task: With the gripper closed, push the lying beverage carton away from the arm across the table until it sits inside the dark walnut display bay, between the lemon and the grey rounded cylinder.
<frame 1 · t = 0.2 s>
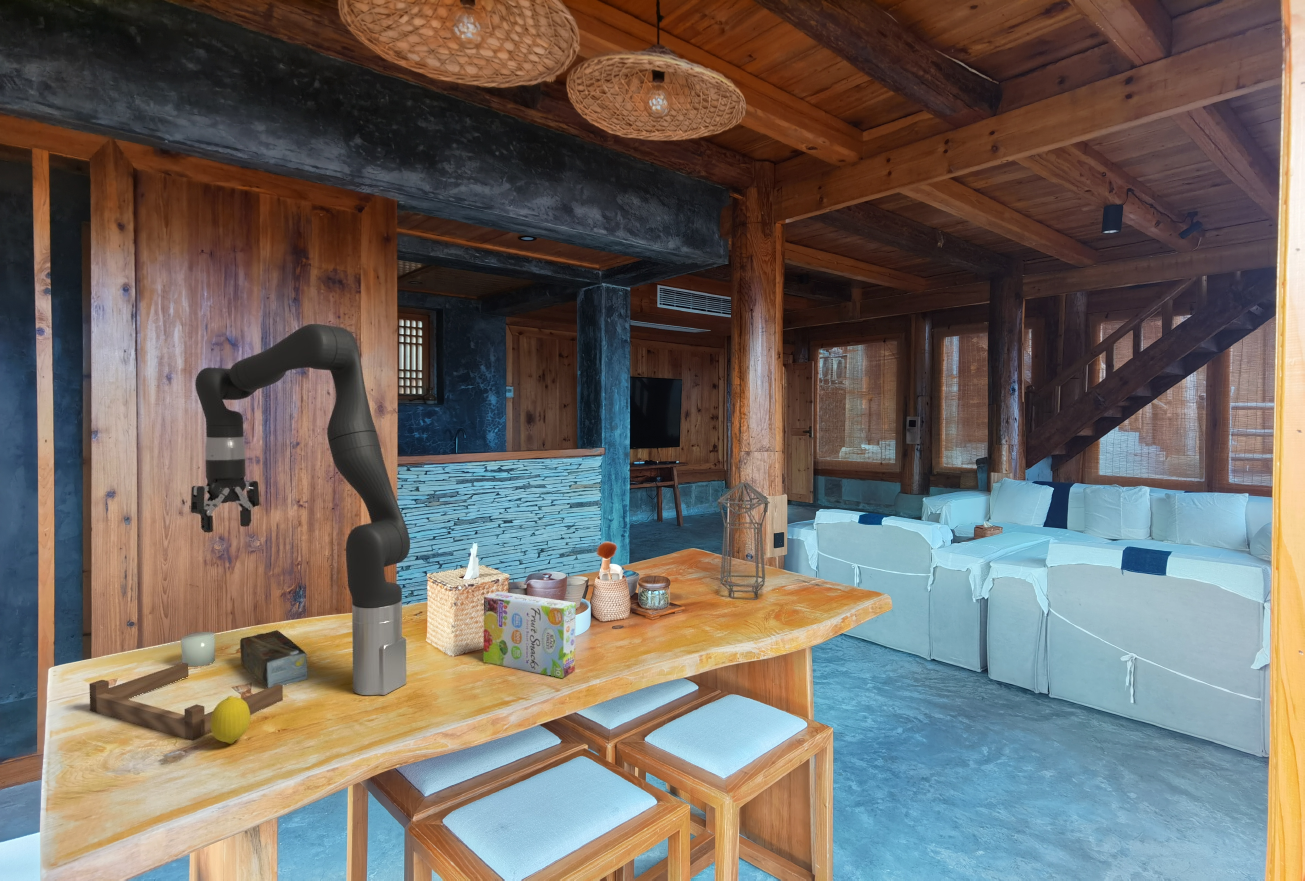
hand: (227, 529, 148), 29 cm above the table, tool pointing down, fingers open, 8 cm apart
geometric lantern: (742, 595, 202), on the table
display bay: (188, 705, 123), on the table
lemon: (231, 744, 109), on the table
beverage carton: (273, 673, 139), on the table
grey rounded cylinder: (198, 663, 143), on the table
snack box: (528, 667, 143), on the table
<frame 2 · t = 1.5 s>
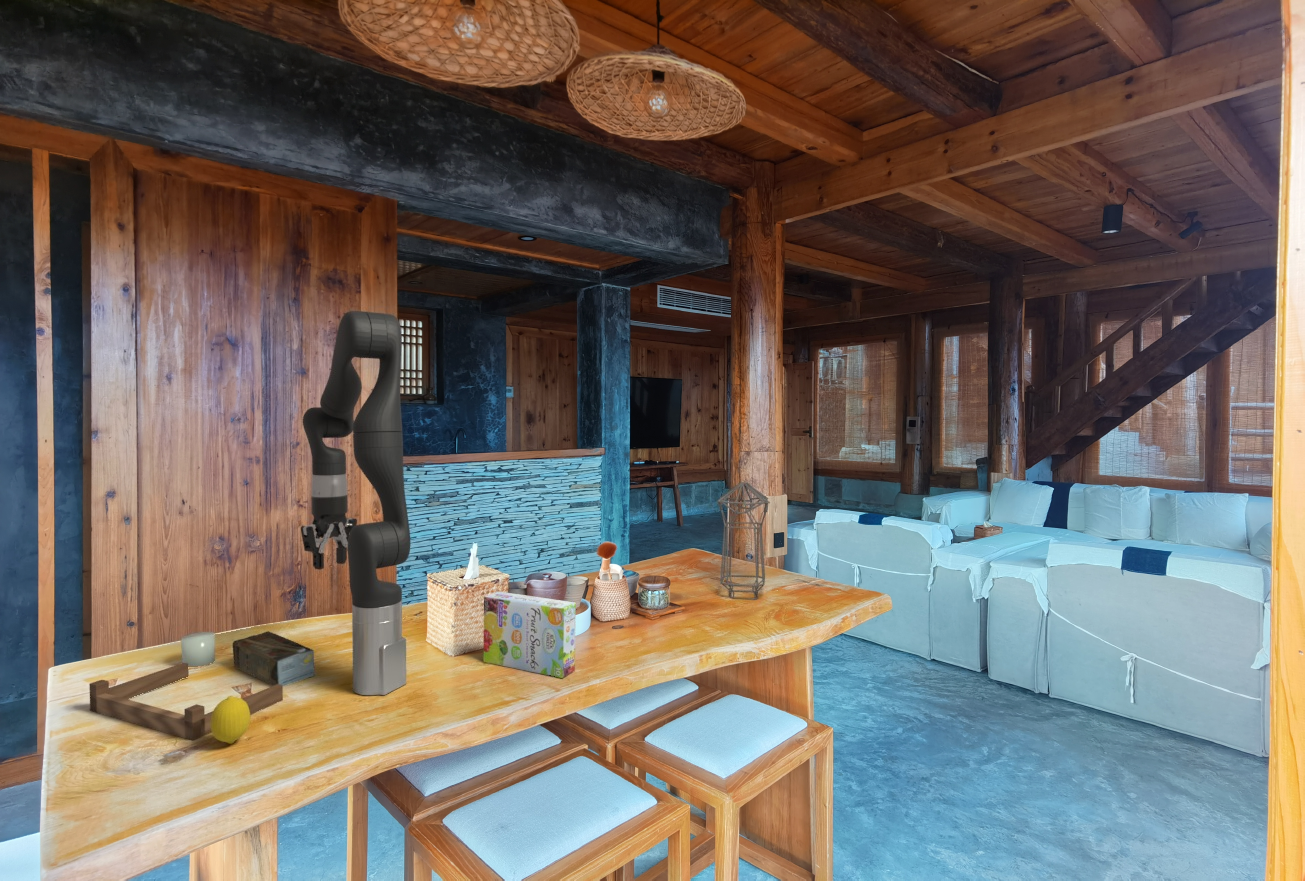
hand: (330, 565, 152), 19 cm above the table, tool pointing down, fingers open, 5 cm apart
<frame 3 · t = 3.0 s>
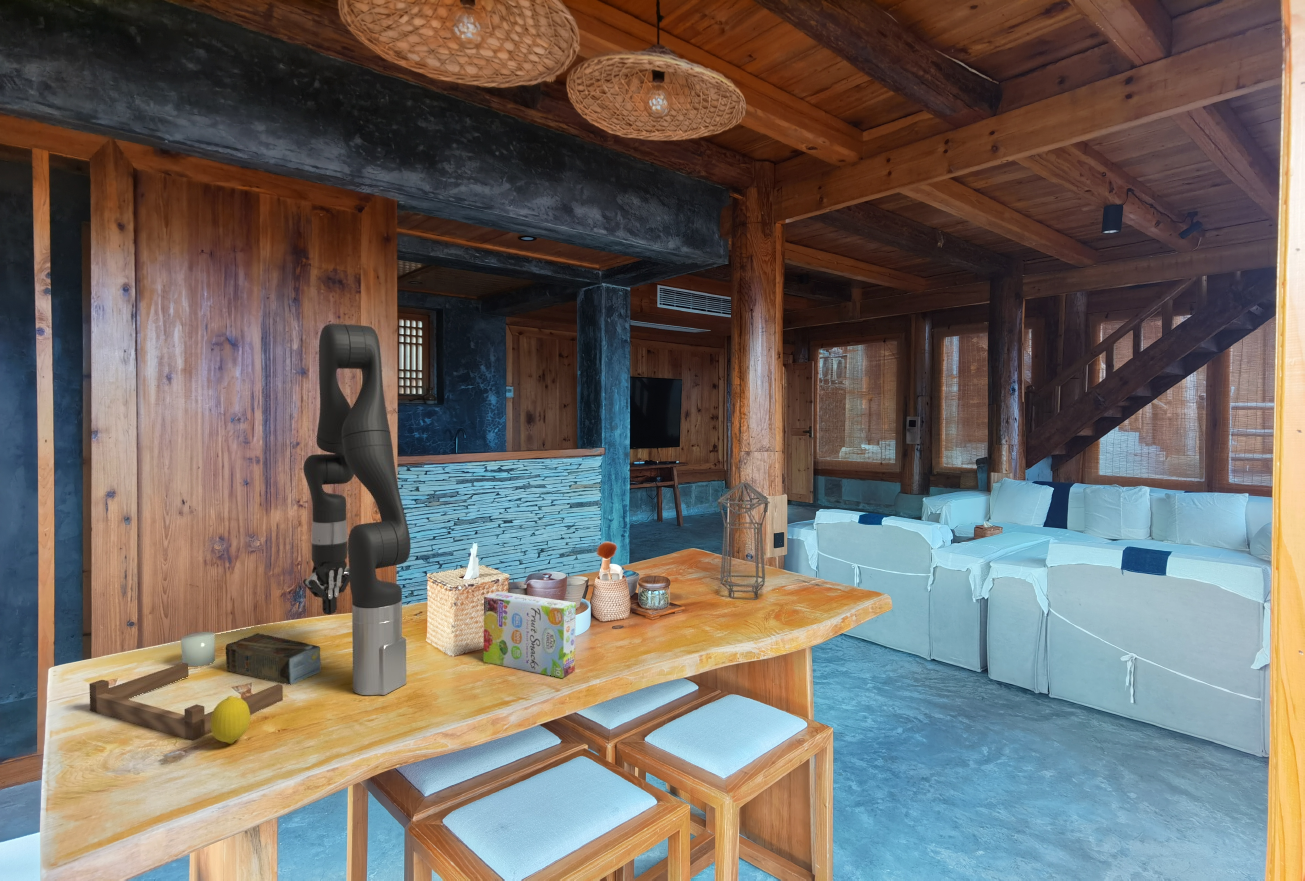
hand: (329, 613, 153), 8 cm above the table, tool pointing down, fingers closed
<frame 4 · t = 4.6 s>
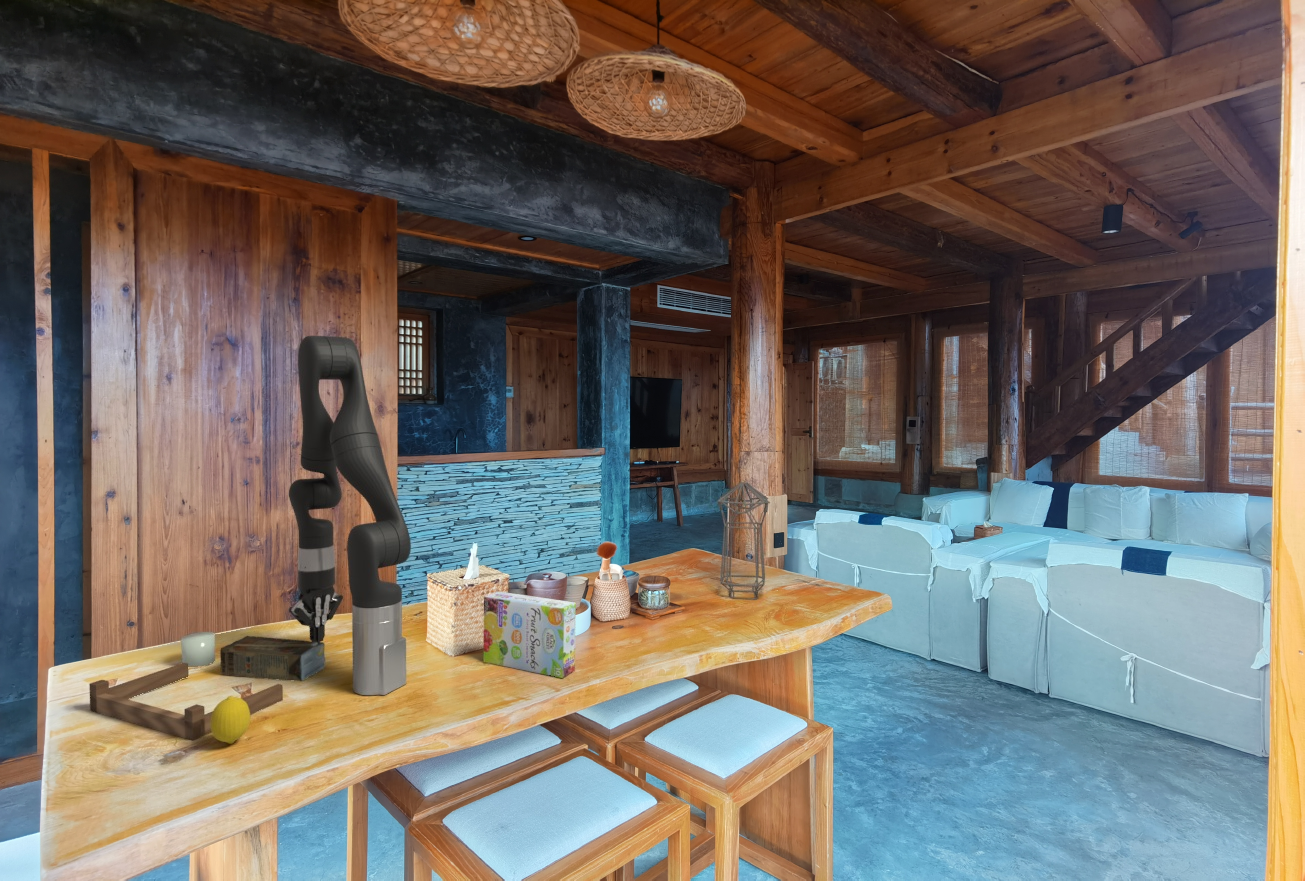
hand: (317, 641, 149), 3 cm above the table, tool pointing down, fingers closed
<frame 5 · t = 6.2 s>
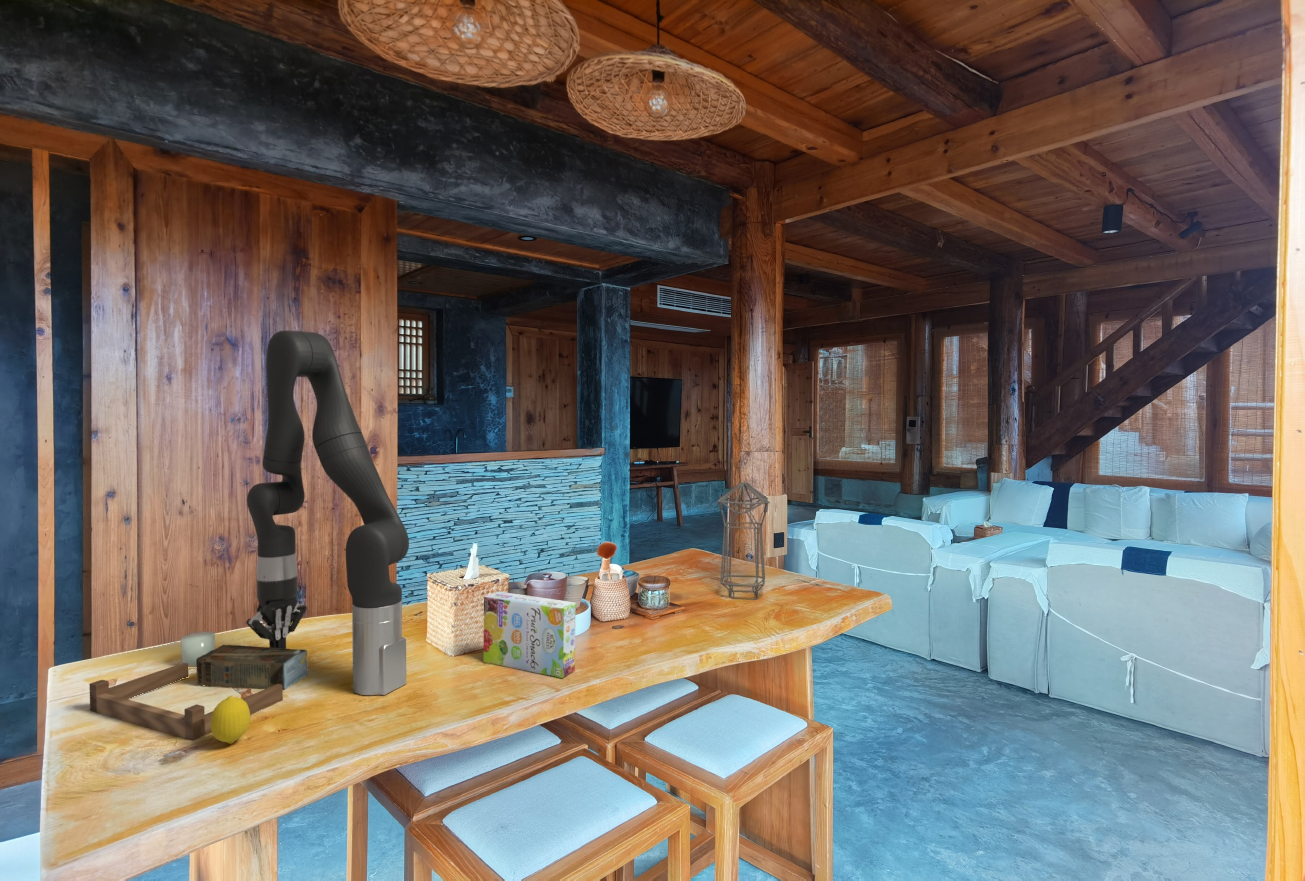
hand: (278, 655, 140), 3 cm above the table, tool pointing down, fingers closed
beverage carton: (253, 683, 134), on the table
everything else where it was.
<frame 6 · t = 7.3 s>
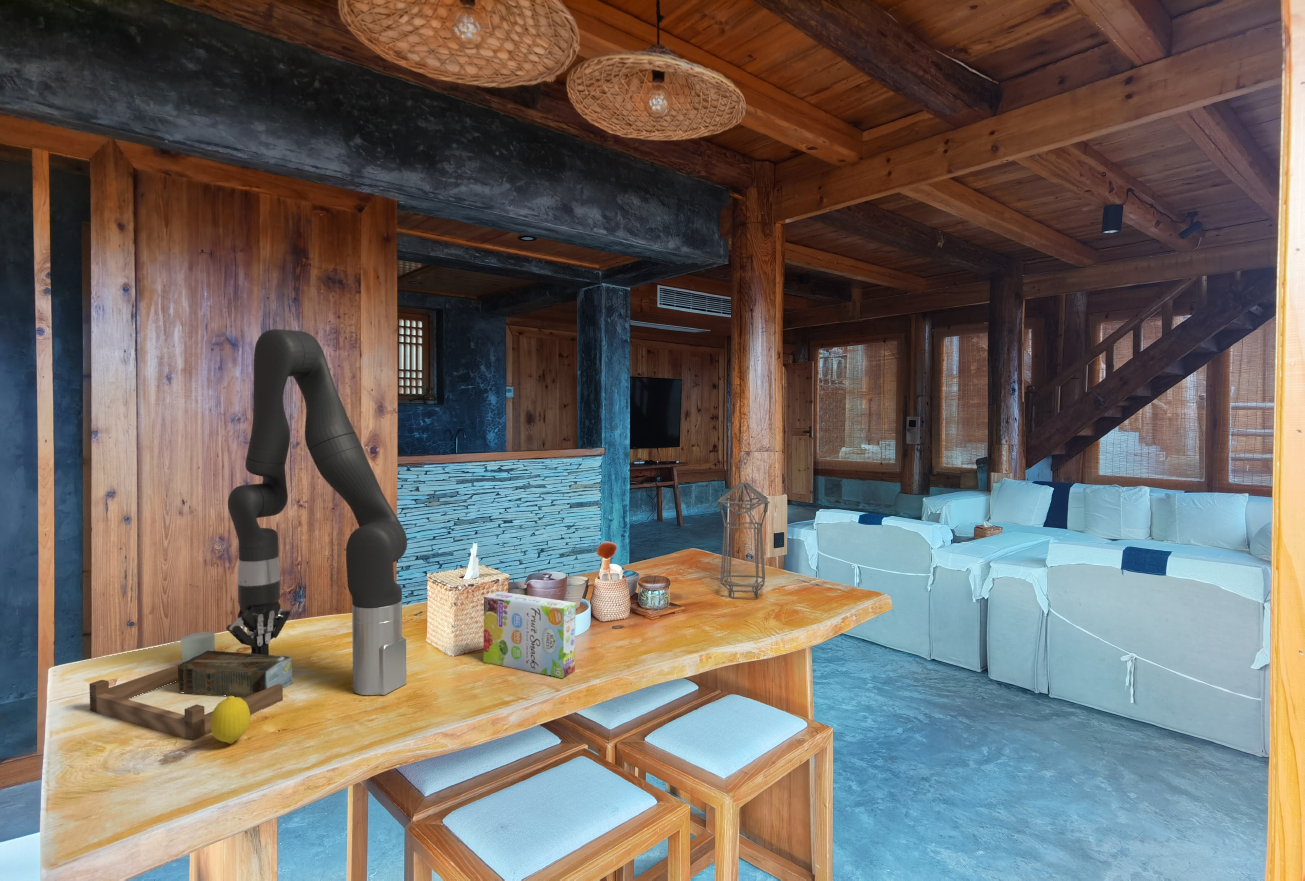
hand: (260, 661, 136), 3 cm above the table, tool pointing down, fingers closed
beverage carton: (236, 690, 131), on the table
everything else where it was.
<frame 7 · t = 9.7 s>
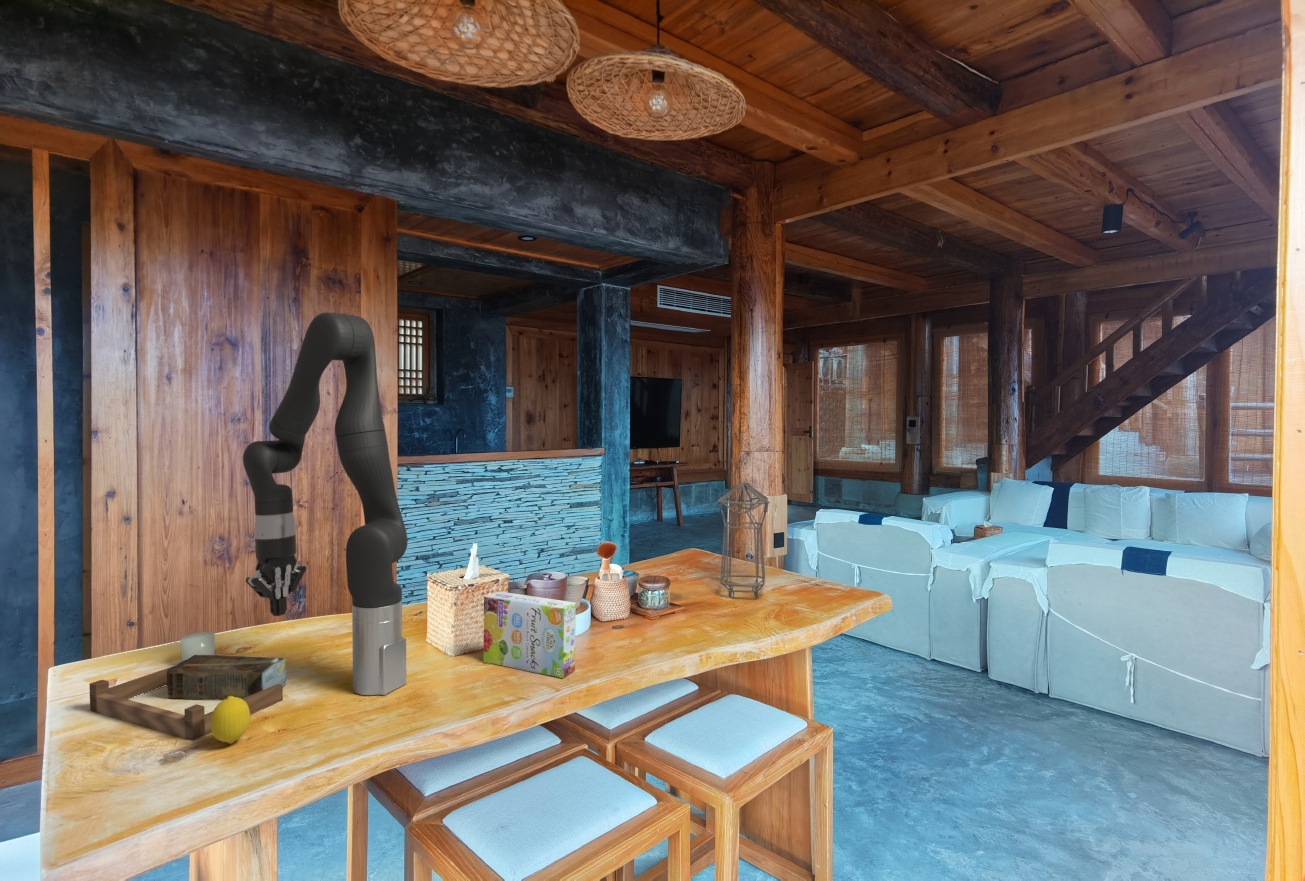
hand: (278, 614, 140), 12 cm above the table, tool pointing down, fingers closed
beverage carton: (228, 694, 129), on the table
everything else where it was.
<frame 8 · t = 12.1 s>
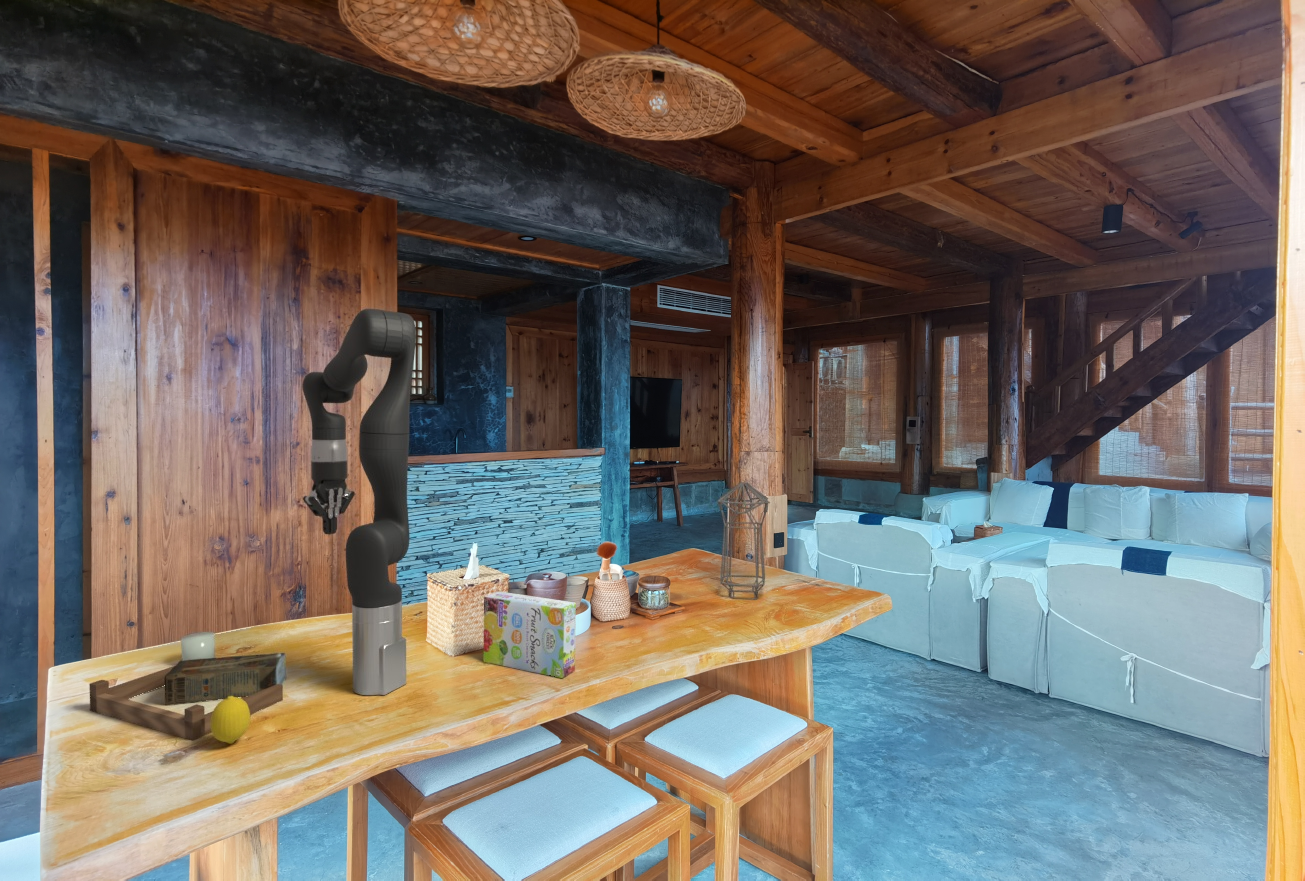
hand: (330, 533, 152), 27 cm above the table, tool pointing down, fingers closed
at the end: beverage carton inside the target area (5.2 cm from its centre), on the table; grey rounded cylinder moved 0.1 cm from its start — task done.
